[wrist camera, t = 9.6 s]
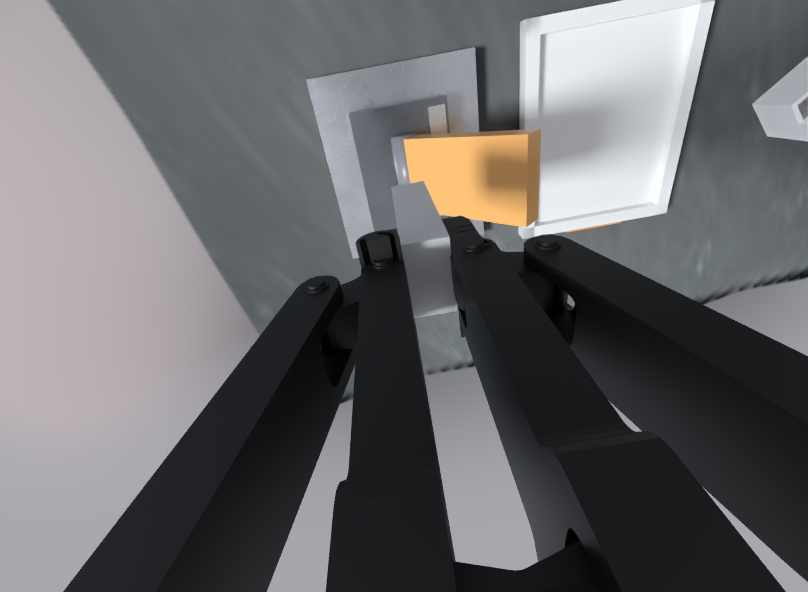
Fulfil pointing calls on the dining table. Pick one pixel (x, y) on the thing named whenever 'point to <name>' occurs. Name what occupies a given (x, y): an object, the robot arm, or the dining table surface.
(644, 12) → the tray
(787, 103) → the white wedge bracket
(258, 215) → the dining table surface
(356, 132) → the panel
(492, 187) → the block
